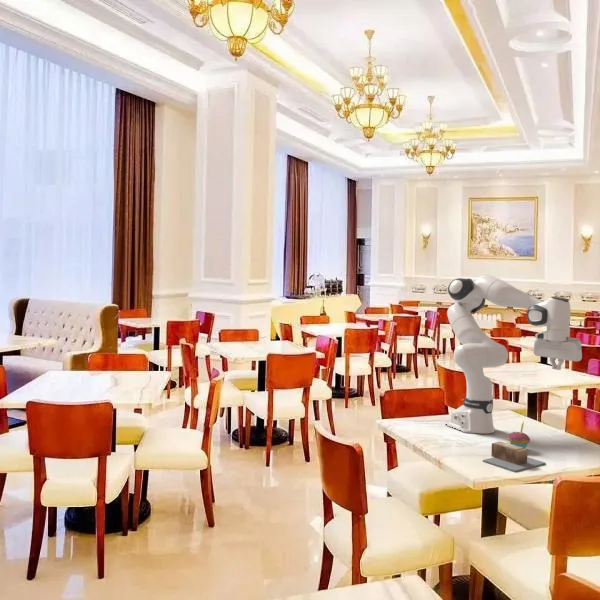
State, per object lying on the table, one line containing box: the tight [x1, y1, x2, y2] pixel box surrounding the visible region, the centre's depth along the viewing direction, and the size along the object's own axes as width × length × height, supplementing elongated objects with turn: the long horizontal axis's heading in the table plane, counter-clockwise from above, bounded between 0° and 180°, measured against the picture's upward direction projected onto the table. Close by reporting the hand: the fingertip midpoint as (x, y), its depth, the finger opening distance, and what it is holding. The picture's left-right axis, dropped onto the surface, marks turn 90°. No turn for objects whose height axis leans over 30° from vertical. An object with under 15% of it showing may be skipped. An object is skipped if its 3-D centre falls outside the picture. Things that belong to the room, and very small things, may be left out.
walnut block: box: [491, 441, 529, 465], centre depth 226 cm, size 5×5×12 cm
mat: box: [482, 456, 547, 473], centre depth 224 cm, size 14×18×1 cm
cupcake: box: [506, 420, 531, 449], centre depth 241 cm, size 9×8×12 cm
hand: (556, 369), depth 251 cm, fingers closed
